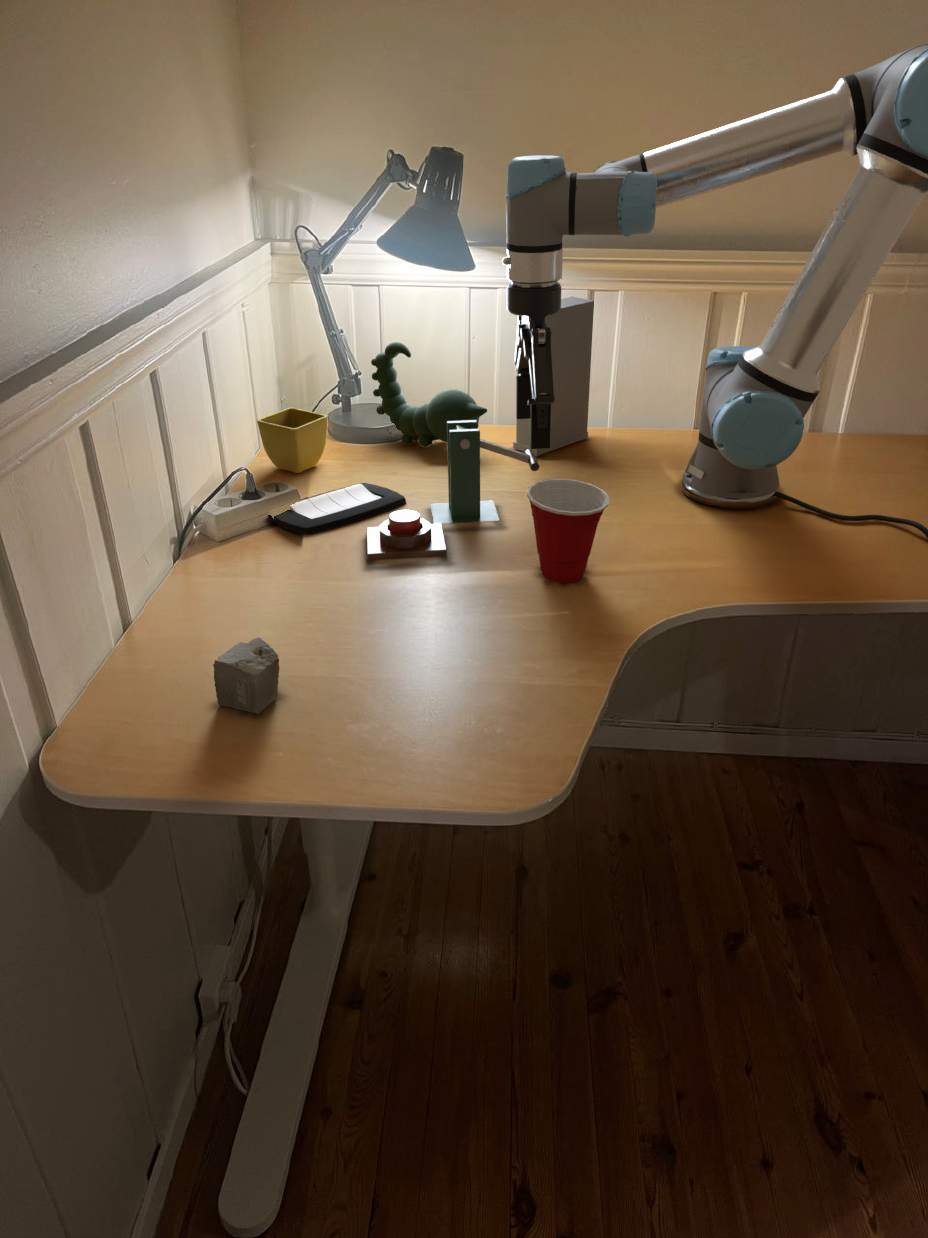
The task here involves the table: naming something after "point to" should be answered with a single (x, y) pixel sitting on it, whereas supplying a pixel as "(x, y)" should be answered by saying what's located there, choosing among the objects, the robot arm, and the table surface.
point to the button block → (405, 542)
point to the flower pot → (294, 438)
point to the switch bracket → (463, 479)
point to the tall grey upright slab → (566, 376)
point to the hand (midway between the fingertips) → (532, 432)
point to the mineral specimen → (247, 676)
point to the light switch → (338, 508)
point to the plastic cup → (565, 525)
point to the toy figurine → (414, 419)
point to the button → (404, 522)
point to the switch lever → (509, 452)
